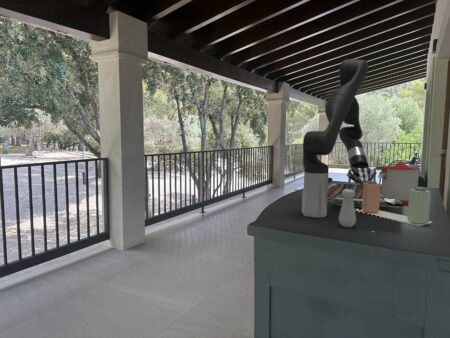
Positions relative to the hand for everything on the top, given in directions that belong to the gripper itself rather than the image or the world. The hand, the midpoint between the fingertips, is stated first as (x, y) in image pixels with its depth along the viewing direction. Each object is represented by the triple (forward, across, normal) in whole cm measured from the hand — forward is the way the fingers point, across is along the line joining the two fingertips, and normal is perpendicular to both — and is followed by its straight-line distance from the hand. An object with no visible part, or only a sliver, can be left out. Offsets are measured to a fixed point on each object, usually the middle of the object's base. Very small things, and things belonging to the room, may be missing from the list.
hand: (366, 190), depth 146 cm
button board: (+14, +6, -2) cm, 15 cm away
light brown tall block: (+10, 0, +2) cm, 10 cm away
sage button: (+21, +11, -9) cm, 26 cm away
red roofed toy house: (-5, +20, +17) cm, 27 cm away
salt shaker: (+25, -16, -12) cm, 32 cm away
